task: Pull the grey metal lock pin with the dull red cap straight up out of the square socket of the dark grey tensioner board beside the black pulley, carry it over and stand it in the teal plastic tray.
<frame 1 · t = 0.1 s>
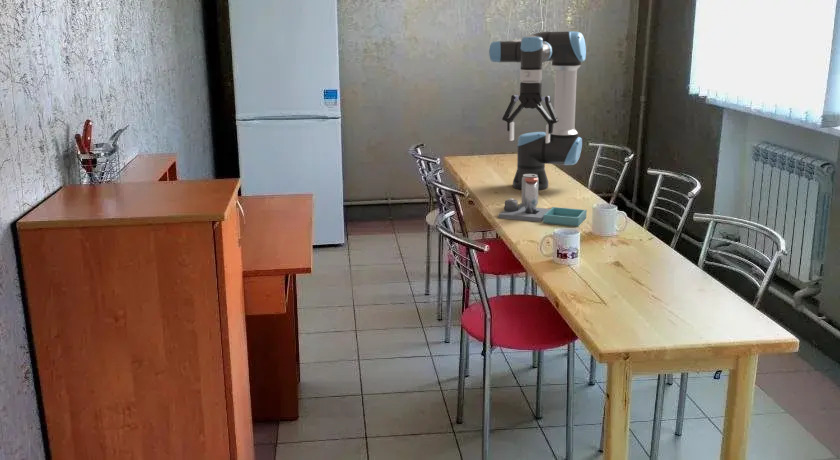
hand: (529, 141, 284), 28 cm above the table, fingers open, 13 cm apart
beverage can: (529, 205, 308), on the table
tray: (565, 220, 285), on the table
tensioner board: (525, 215, 293), on the table
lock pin: (530, 215, 292), resting in tensioner board
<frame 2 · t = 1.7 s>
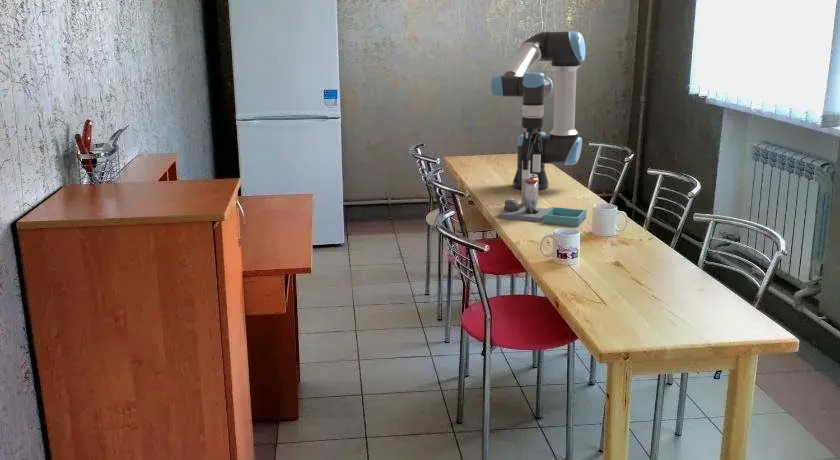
hand: (531, 175, 287), 15 cm above the table, fingers open, 13 cm apart
nothing on the table moved.
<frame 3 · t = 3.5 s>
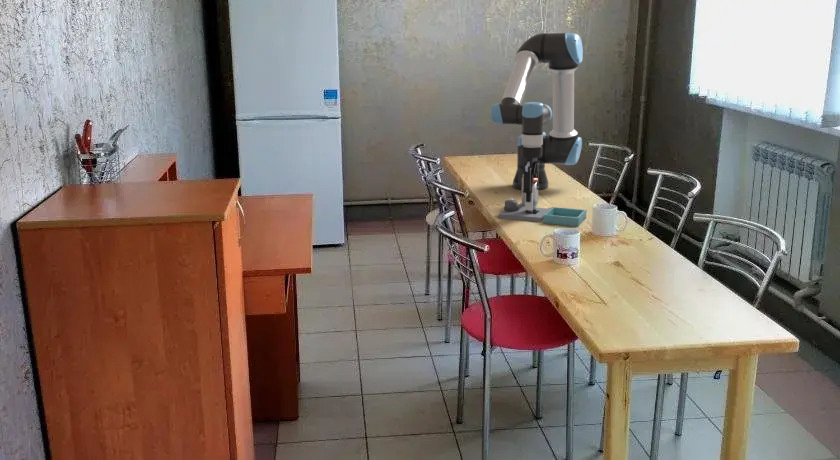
hand: (530, 208, 291), 3 cm above the table, fingers closed on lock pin, 4 cm apart
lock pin: (530, 215, 292), resting in tensioner board, touching gripper
everything else where it was.
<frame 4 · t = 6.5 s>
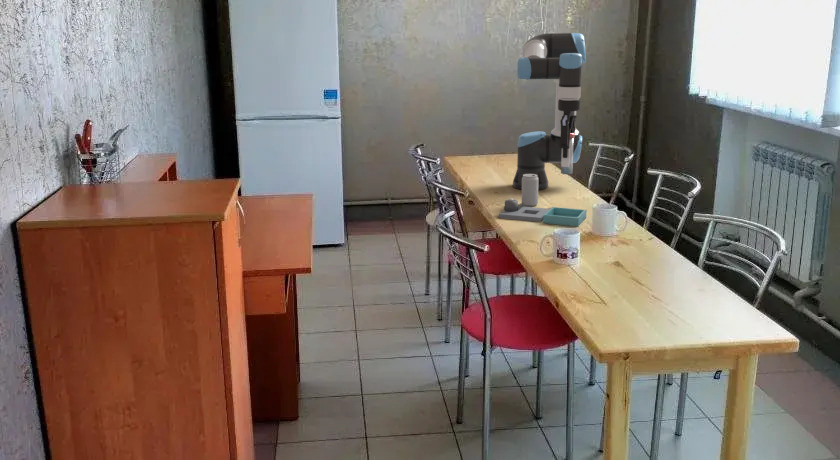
hand: (566, 165, 279), 20 cm above the table, fingers closed on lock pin, 4 cm apart
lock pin: (566, 173, 280), point 17 cm above the table, touching gripper
everything else where it was.
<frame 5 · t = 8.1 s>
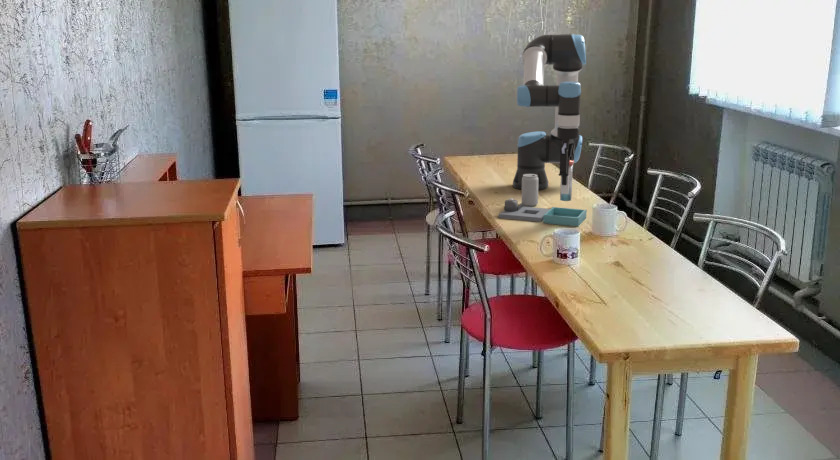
hand: (566, 192, 282), 11 cm above the table, fingers closed on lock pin, 4 cm apart
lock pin: (565, 199, 282), point 8 cm above the table, touching gripper
everything else where it was.
when the fingers open (4 cm above the table, at t = 9.5 s): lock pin stays where it is, resting on tray.
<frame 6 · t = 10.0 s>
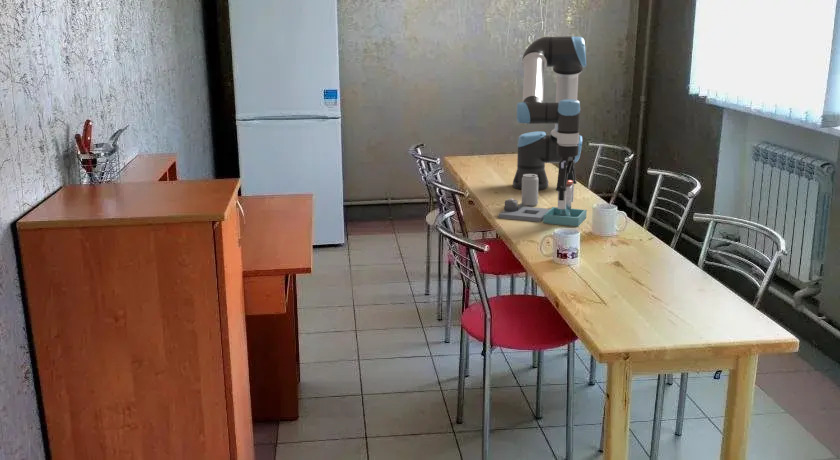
hand: (565, 205, 283), 6 cm above the table, fingers open, 11 cm apart
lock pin: (565, 219, 285), point 1 cm above the table, touching tray
everything else where it was.
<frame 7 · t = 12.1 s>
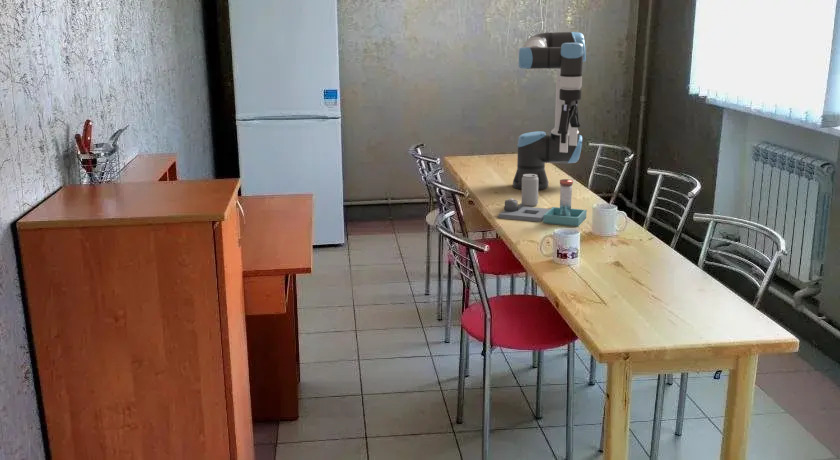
hand: (568, 148, 280), 26 cm above the table, fingers open, 13 cm apart
nothing on the table moved.
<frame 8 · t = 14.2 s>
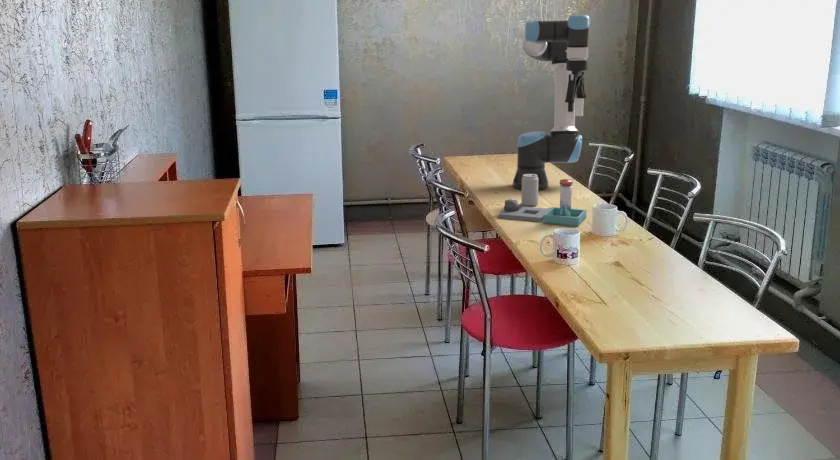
hand: (574, 118, 290), 35 cm above the table, fingers open, 13 cm apart
nothing on the table moved.
at the end: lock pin inside the target area on the tray (0.0 cm from its centre), point 0.5 cm above the tray's base; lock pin tilted 0°; the gripper is holding nothing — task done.
